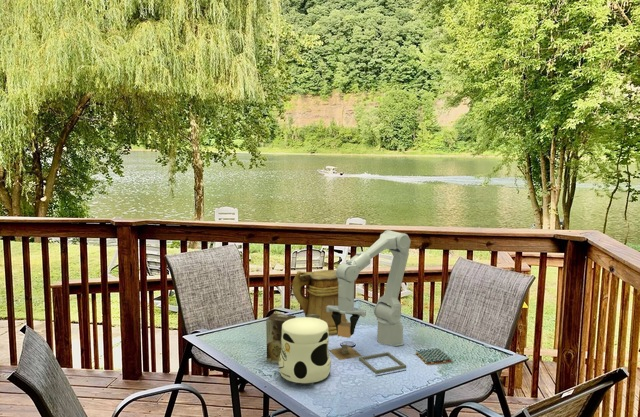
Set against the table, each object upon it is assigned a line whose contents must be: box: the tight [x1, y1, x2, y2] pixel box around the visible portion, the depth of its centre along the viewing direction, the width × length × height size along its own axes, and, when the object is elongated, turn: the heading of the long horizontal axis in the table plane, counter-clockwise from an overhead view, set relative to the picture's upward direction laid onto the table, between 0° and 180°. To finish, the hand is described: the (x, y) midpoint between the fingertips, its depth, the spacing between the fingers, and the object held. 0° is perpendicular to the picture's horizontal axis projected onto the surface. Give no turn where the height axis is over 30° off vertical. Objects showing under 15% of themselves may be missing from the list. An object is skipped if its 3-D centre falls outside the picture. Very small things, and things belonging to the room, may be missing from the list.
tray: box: [358, 351, 407, 377], centre depth 179 cm, size 12×12×2 cm
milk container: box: [278, 316, 332, 386], centre depth 169 cm, size 17×17×18 cm
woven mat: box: [414, 347, 453, 366], centre depth 186 cm, size 10×11×2 cm
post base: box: [328, 344, 362, 361], centre depth 187 cm, size 9×9×4 cm
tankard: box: [291, 269, 349, 337], centre depth 211 cm, size 18×24×25 cm
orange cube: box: [337, 321, 353, 339], centre depth 186 cm, size 4×4×4 cm
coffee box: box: [265, 313, 297, 365], centre depth 182 cm, size 9×6×16 cm
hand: (345, 332), depth 186 cm, fingers closed on orange cube, 4 cm apart
